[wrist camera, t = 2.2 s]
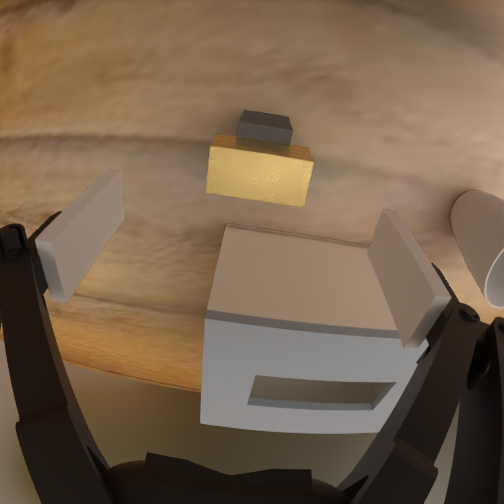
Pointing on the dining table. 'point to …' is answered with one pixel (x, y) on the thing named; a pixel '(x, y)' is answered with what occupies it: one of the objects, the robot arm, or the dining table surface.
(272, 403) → the box
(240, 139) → the yellow wooden brick
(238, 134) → the block
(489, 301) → the cup
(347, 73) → the dining table surface
